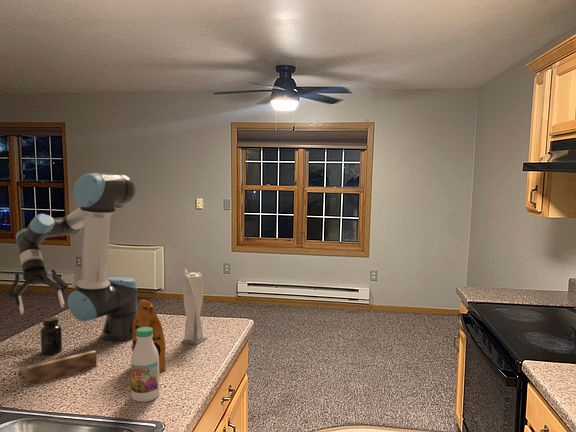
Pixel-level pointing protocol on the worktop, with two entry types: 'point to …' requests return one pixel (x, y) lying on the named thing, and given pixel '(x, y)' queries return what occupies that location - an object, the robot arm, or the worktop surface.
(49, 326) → the supplement bottle
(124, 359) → the worktop surface
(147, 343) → the milk bottle
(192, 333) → the skyscraper
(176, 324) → the worktop surface
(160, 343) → the orange brown carved sculpture
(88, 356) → the walnut shelf
